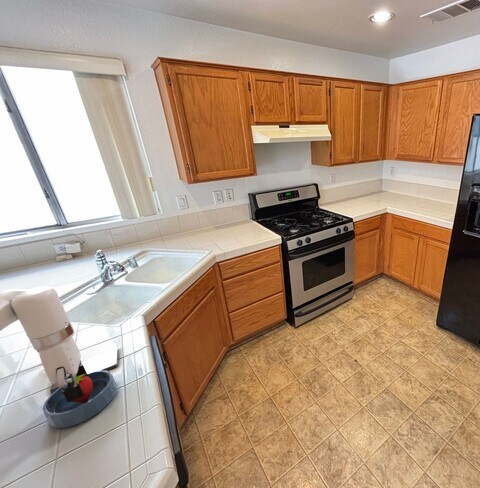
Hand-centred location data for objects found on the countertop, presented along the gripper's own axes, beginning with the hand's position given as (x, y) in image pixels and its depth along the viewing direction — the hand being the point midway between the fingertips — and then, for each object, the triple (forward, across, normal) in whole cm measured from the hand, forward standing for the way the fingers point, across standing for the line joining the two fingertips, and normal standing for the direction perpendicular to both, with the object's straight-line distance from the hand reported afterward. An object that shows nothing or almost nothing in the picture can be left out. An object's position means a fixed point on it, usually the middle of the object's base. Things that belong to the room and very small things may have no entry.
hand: (78, 388), depth 72 cm
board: (+6, -17, -1) cm, 18 cm away
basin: (+6, 0, 0) cm, 6 cm away
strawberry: (+6, 0, 0) cm, 6 cm away
